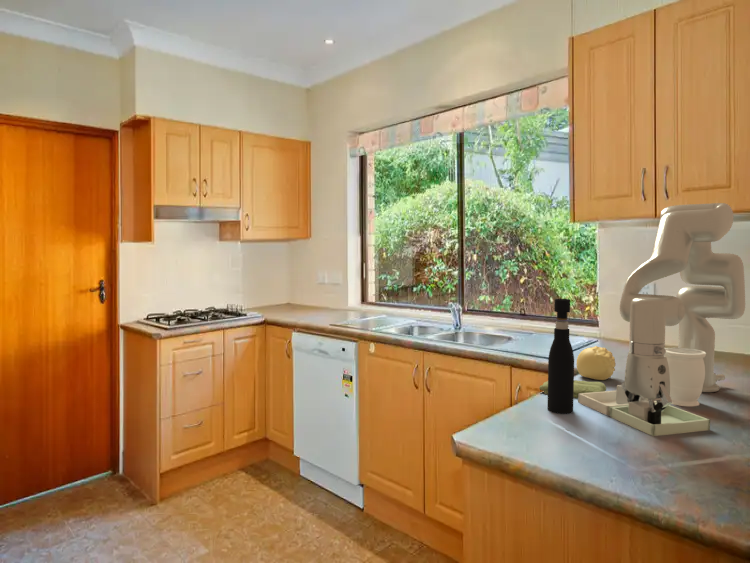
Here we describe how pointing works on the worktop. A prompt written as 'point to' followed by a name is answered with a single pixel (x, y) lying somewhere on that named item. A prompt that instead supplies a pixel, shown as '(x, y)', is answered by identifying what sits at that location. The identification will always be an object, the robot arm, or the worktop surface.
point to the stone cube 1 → (623, 396)
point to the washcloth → (580, 387)
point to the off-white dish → (601, 401)
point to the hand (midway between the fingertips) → (644, 422)
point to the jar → (685, 375)
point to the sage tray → (663, 421)
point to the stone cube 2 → (640, 409)
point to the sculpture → (596, 363)
